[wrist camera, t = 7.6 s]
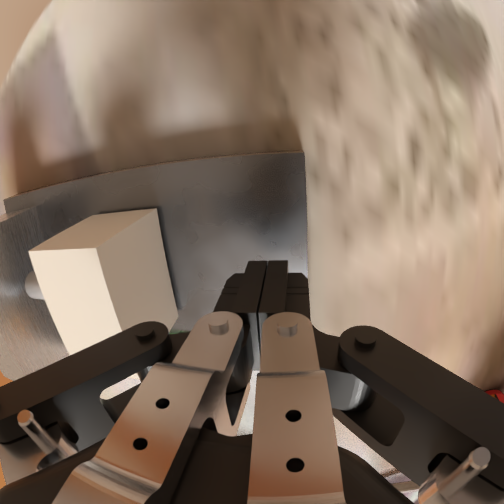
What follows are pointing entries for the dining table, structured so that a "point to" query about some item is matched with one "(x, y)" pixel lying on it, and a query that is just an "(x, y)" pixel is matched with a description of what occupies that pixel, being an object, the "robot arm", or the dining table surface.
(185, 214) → the gauge base
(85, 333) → the block
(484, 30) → the dining table surface
